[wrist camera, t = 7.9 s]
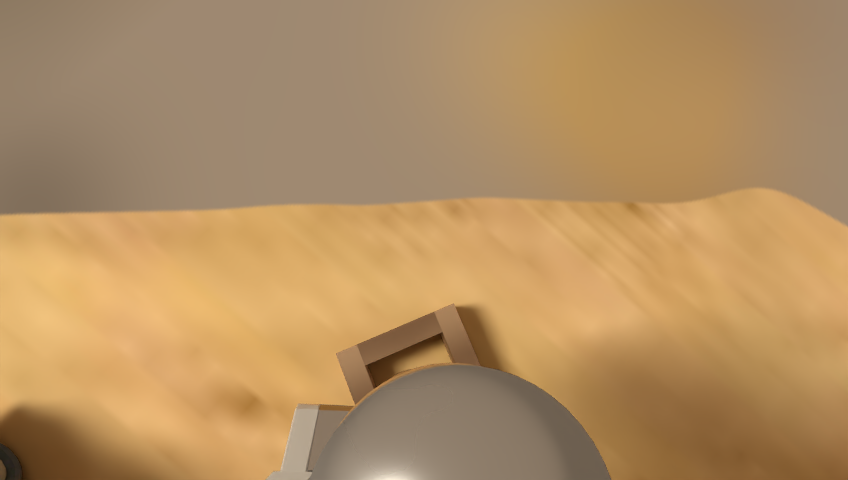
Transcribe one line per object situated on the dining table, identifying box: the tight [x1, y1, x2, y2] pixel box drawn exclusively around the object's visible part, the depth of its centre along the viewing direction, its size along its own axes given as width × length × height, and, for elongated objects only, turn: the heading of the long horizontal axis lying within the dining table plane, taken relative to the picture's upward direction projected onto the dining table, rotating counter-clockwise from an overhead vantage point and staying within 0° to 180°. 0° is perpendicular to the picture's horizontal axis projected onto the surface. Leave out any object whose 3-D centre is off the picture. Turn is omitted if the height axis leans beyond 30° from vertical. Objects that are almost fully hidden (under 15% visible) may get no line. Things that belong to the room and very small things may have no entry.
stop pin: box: [309, 363, 611, 480], centre depth 12 cm, size 4×4×11 cm
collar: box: [336, 304, 481, 405], centre depth 27 cm, size 7×7×2 cm
